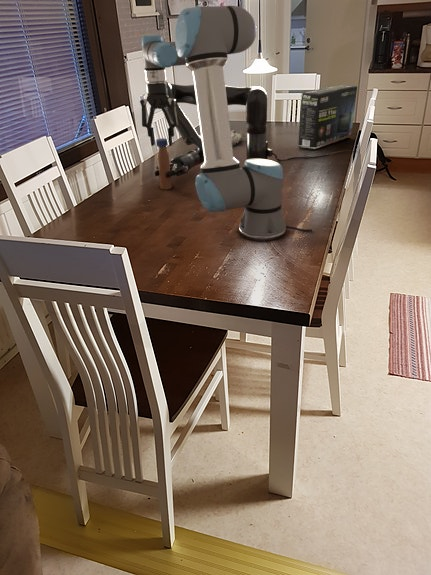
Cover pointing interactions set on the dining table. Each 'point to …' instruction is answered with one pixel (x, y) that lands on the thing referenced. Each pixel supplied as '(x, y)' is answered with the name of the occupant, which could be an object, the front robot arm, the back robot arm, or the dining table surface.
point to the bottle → (163, 167)
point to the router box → (326, 115)
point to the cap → (161, 142)
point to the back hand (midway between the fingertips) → (161, 174)
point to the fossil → (236, 136)
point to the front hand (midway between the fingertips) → (162, 144)
